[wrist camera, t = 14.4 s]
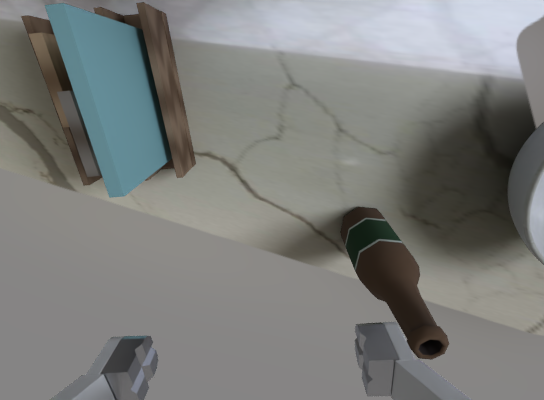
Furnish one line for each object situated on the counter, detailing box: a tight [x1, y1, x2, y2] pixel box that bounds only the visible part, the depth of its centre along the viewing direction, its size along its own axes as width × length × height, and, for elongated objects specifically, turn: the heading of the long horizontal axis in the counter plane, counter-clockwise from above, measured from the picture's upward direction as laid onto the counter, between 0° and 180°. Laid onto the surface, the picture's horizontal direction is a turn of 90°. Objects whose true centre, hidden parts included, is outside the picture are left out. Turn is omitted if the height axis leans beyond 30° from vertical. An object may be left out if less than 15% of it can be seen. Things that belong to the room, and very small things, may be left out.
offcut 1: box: [29, 33, 73, 128], centre depth 36 cm, size 10×2×6 cm, turn 5°
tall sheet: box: [45, 3, 172, 197], centre depth 33 cm, size 16×2×16 cm, turn 5°
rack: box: [21, 2, 196, 185], centre depth 39 cm, size 20×14×6 cm
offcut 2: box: [57, 90, 102, 177], centre depth 38 cm, size 10×2×8 cm, turn 5°
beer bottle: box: [341, 207, 449, 359], centre depth 38 cm, size 8×8×24 cm
